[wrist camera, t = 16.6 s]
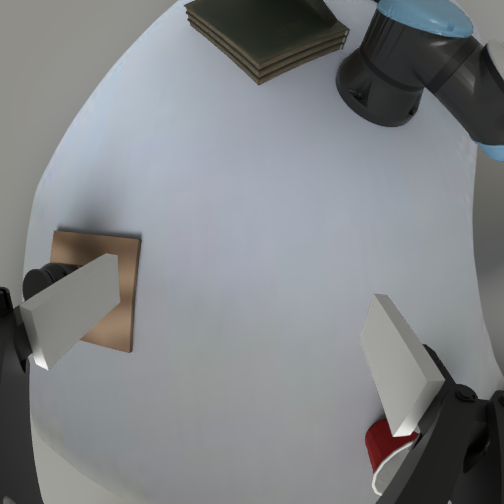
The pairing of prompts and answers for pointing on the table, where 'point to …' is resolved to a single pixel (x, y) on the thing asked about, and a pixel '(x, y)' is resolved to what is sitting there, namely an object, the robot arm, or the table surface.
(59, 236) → the walnut board
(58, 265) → the supplement bottle
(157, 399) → the table surface
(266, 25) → the stacked books
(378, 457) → the plastic cup
